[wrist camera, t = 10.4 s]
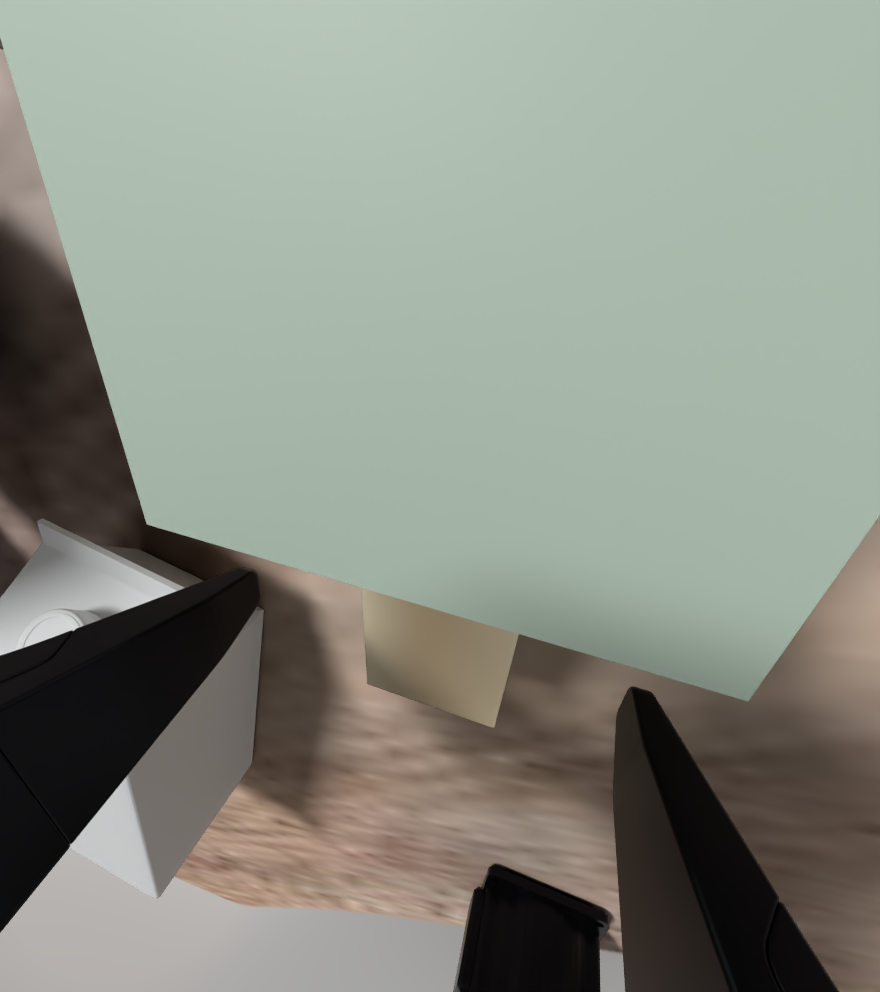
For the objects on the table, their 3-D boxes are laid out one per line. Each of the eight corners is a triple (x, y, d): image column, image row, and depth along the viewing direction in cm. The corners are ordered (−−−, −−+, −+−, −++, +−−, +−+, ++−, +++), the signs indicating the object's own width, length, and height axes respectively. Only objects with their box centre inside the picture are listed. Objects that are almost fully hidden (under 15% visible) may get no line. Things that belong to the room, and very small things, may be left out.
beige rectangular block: (600, 290, 9) (599, 328, 6) (516, 622, 15) (494, 728, 12) (426, 271, 10) (343, 294, 7) (413, 592, 16) (367, 683, 13)
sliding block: (826, 85, 7) (1645, -567, 2) (666, 485, 11) (747, 701, 6) (322, 83, 10) (-72, -203, 4) (334, 418, 14) (146, 524, 8)
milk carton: (161, 715, 28) (128, 479, 18) (253, 764, 27) (270, 544, 17) (45, 834, 22) (-97, 579, 12) (158, 902, 21) (102, 686, 11)
